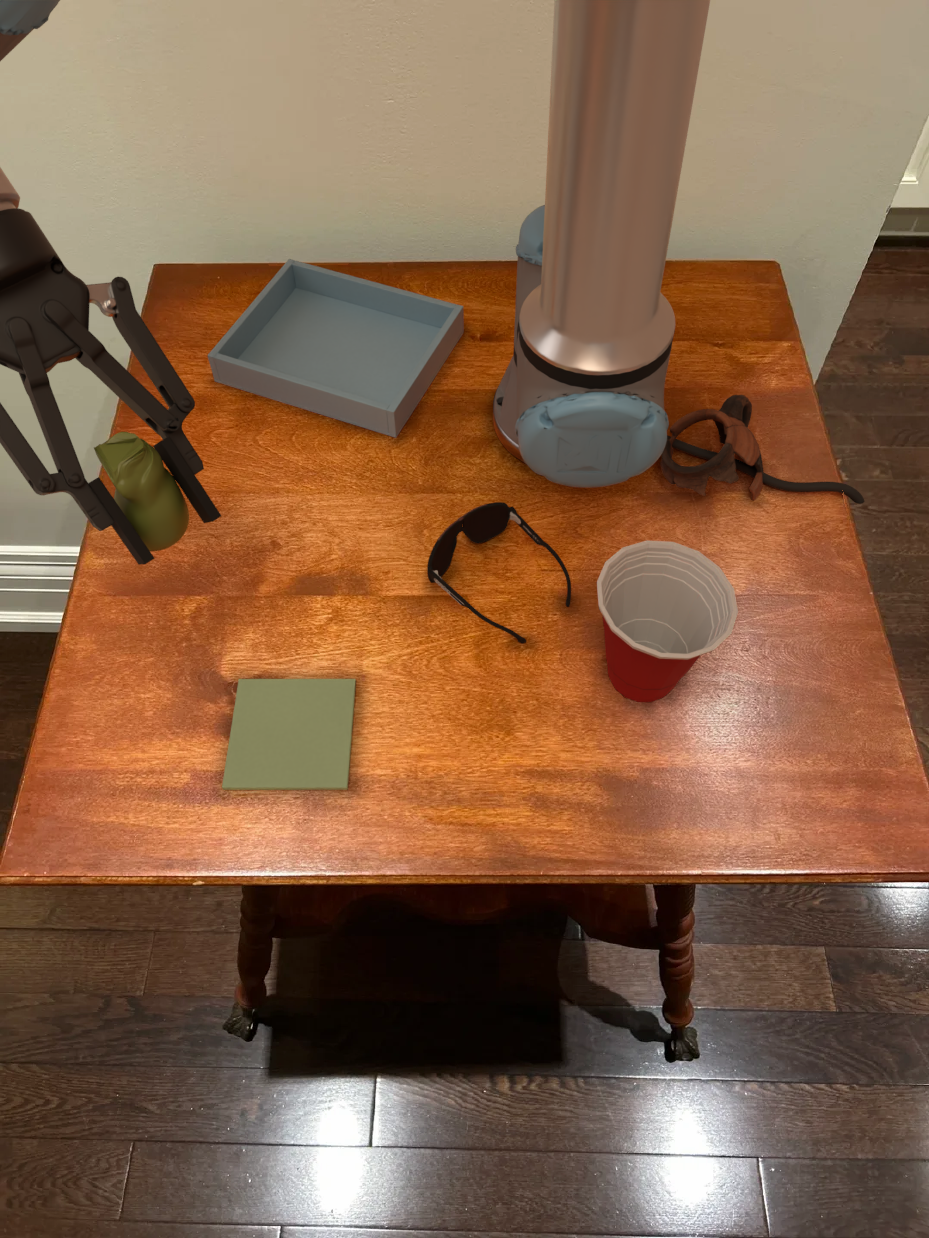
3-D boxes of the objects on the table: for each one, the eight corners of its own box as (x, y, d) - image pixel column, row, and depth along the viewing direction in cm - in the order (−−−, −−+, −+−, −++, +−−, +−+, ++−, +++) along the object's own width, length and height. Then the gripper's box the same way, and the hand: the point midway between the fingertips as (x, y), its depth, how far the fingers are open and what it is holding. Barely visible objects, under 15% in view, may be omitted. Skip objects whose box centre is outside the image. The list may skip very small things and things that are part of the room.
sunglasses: (495, 517, 91) (501, 486, 87) (584, 599, 88) (595, 572, 83) (413, 578, 87) (415, 549, 83) (503, 667, 84) (510, 642, 79)
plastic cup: (703, 741, 78) (737, 666, 68) (572, 718, 79) (587, 641, 69) (711, 632, 84) (743, 548, 74) (589, 612, 85) (605, 527, 75)
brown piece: (756, 528, 91) (729, 481, 85) (667, 522, 97) (636, 477, 91) (791, 424, 94) (767, 371, 88) (702, 424, 100) (674, 375, 94)
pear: (208, 545, 72) (173, 453, 63) (142, 577, 70) (97, 486, 62) (178, 498, 74) (141, 403, 66) (113, 527, 73) (67, 434, 64)
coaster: (356, 681, 82) (355, 678, 81) (348, 790, 76) (347, 787, 76) (239, 681, 82) (238, 678, 81) (223, 790, 76) (221, 787, 76)
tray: (463, 332, 106) (463, 306, 103) (396, 438, 97) (393, 412, 94) (293, 285, 111) (288, 258, 108) (214, 381, 102) (206, 355, 99)
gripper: (88, 197, 68) (266, 480, 75) (-158, 309, 61) (62, 609, 68) (103, 156, 61) (297, 471, 68) (-171, 277, 55) (75, 612, 62)
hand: (179, 539), depth 68 cm, fingers closed on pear, 5 cm apart
